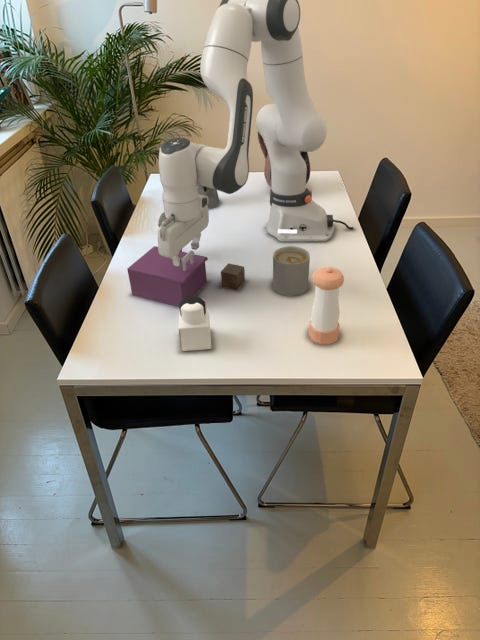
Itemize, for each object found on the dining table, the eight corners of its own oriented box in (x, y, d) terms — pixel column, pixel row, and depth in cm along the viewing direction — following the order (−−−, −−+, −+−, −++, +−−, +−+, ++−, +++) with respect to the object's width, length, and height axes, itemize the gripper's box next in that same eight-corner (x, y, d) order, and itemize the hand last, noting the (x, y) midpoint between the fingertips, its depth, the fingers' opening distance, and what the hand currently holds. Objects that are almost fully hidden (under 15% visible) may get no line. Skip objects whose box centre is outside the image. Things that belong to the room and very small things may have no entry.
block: (244, 281, 144) (244, 266, 141) (237, 290, 140) (236, 275, 138) (229, 278, 146) (228, 263, 143) (221, 286, 142) (220, 271, 139)
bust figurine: (182, 333, 126) (176, 293, 118) (210, 331, 126) (206, 291, 119) (181, 351, 120) (176, 311, 113) (211, 349, 120) (207, 308, 113)
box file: (207, 282, 144) (205, 258, 140) (183, 307, 135) (180, 283, 130) (158, 271, 150) (154, 248, 146) (132, 295, 140) (127, 271, 136)
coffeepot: (196, 197, 194) (191, 150, 183) (220, 196, 194) (217, 149, 183) (193, 214, 182) (189, 165, 171) (219, 213, 182) (216, 164, 171)
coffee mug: (307, 296, 137) (308, 265, 131) (270, 294, 138) (270, 263, 132) (309, 271, 147) (311, 241, 141) (276, 269, 149) (276, 239, 143)
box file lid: (207, 259, 139) (206, 244, 137) (183, 283, 130) (181, 268, 127) (154, 248, 145) (152, 234, 143) (127, 271, 136) (124, 256, 133)
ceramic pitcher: (302, 201, 187) (305, 133, 172) (249, 195, 194) (248, 129, 179) (314, 184, 200) (317, 119, 185) (264, 179, 207) (263, 116, 192)
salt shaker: (344, 337, 122) (352, 269, 111) (321, 348, 119) (327, 280, 108) (325, 322, 127) (330, 256, 116) (302, 333, 124) (306, 266, 113)
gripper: (170, 226, 116) (177, 277, 124) (211, 194, 131) (214, 242, 139) (148, 222, 118) (155, 272, 126) (190, 191, 133) (194, 238, 141)
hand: (186, 256), depth 133 cm, fingers open, 8 cm apart
